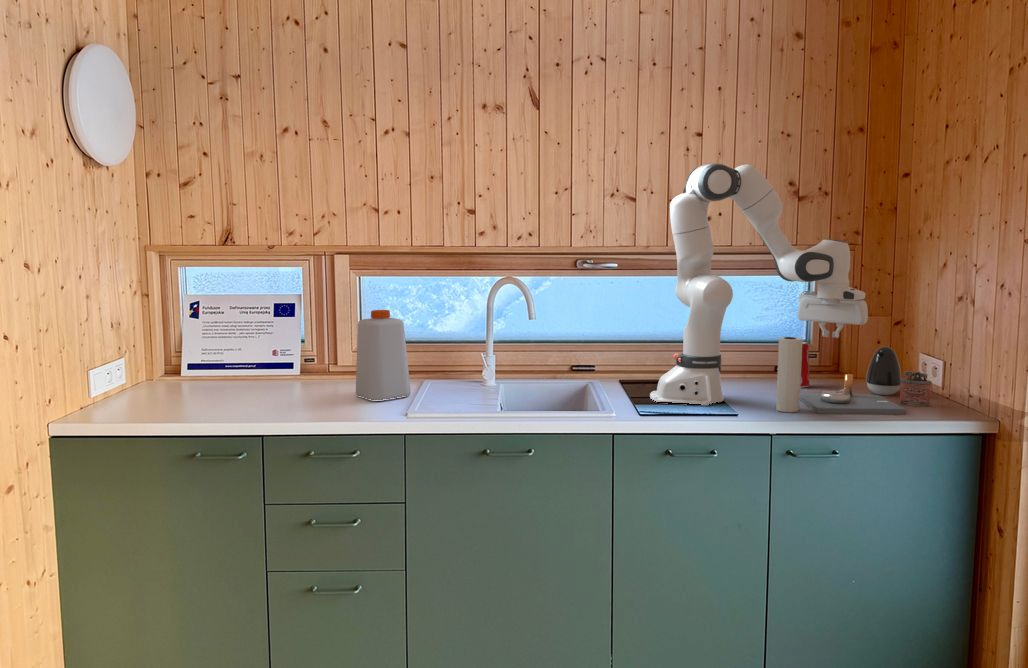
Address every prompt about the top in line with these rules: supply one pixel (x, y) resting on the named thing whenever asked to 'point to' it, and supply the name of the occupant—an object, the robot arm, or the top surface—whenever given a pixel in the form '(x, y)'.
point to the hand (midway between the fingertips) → (830, 337)
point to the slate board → (853, 405)
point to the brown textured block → (915, 390)
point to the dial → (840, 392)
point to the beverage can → (805, 365)
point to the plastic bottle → (381, 358)
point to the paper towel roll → (789, 374)
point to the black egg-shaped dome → (884, 372)
